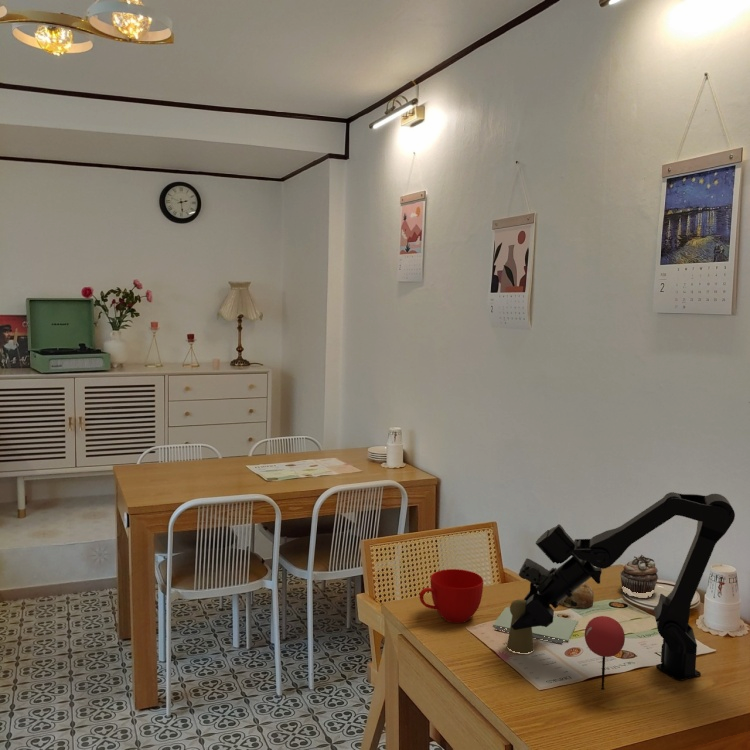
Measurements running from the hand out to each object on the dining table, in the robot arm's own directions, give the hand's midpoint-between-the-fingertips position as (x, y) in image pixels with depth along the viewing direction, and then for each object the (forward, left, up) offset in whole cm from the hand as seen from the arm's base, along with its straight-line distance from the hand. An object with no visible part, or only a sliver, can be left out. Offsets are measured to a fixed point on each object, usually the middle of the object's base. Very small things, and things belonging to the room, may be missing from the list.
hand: (515, 619), depth 169 cm
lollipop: (-22, -6, -7) cm, 24 cm away
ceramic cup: (+19, +6, -7) cm, 21 cm away
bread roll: (+16, -30, -7) cm, 35 cm away
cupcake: (+14, -50, -7) cm, 52 cm away
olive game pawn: (-1, -1, -7) cm, 7 cm away
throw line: (+4, -7, -7) cm, 10 cm away
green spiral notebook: (+8, -12, -7) cm, 16 cm away
